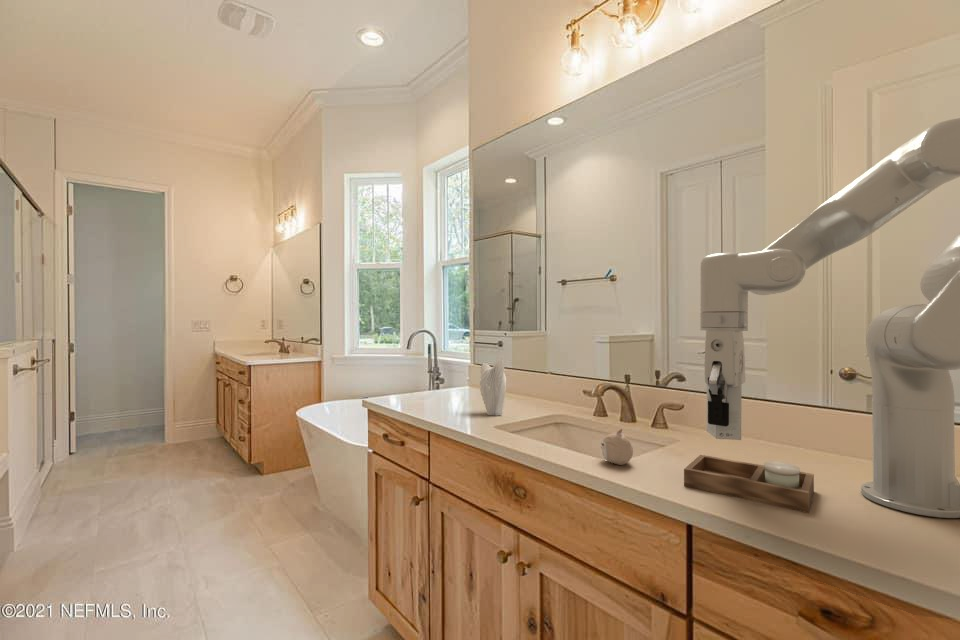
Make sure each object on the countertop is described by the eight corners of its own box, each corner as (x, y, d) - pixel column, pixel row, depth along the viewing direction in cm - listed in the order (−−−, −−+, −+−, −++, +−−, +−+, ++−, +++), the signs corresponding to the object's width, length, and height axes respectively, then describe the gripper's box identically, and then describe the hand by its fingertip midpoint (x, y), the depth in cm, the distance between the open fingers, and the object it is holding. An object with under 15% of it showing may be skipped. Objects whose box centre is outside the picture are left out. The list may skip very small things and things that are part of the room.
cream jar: (801, 491, 76) (801, 465, 76) (798, 500, 72) (798, 473, 72) (766, 484, 79) (766, 459, 79) (762, 492, 75) (761, 467, 75)
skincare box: (742, 440, 78) (742, 371, 78) (715, 439, 79) (715, 371, 79) (730, 432, 84) (730, 367, 84) (705, 431, 85) (705, 367, 85)
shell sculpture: (481, 412, 147) (480, 357, 147) (506, 412, 146) (505, 357, 146) (480, 417, 139) (479, 359, 139) (506, 417, 138) (506, 359, 138)
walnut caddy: (813, 491, 77) (813, 474, 77) (808, 512, 69) (808, 493, 69) (700, 469, 89) (700, 454, 89) (684, 485, 80) (683, 469, 80)
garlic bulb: (597, 465, 92) (596, 426, 92) (605, 456, 98) (605, 420, 98) (630, 470, 89) (629, 429, 89) (637, 461, 95) (636, 423, 95)
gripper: (737, 322, 72) (737, 433, 72) (756, 322, 85) (755, 416, 85) (687, 322, 77) (687, 426, 77) (712, 322, 90) (712, 410, 90)
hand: (723, 420), depth 81 cm, fingers closed on skincare box, 7 cm apart
